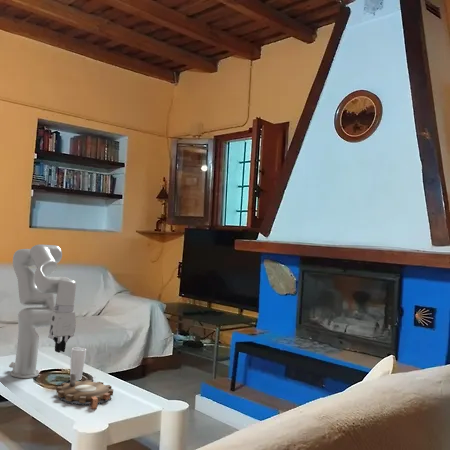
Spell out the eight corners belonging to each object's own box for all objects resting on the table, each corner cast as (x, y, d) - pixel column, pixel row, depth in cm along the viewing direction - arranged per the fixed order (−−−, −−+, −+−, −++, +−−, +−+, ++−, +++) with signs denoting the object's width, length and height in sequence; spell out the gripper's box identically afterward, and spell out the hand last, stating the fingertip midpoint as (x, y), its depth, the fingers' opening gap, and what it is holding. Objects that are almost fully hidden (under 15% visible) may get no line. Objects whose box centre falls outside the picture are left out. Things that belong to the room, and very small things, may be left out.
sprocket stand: (47, 397, 219) (48, 388, 219) (79, 384, 240) (80, 376, 240) (94, 410, 211) (95, 400, 211) (123, 395, 231) (124, 386, 231)
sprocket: (44, 394, 219) (46, 377, 219) (79, 381, 241) (80, 366, 241) (91, 407, 210) (93, 389, 210) (123, 391, 232) (124, 376, 233)
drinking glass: (78, 383, 241) (82, 351, 241) (65, 381, 243) (68, 349, 243) (85, 379, 248) (88, 348, 248) (72, 377, 249) (75, 346, 249)
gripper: (52, 311, 214) (47, 355, 214) (85, 309, 226) (80, 351, 225) (43, 307, 219) (38, 351, 219) (75, 306, 230) (70, 347, 230)
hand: (59, 351), depth 222 cm, fingers closed
